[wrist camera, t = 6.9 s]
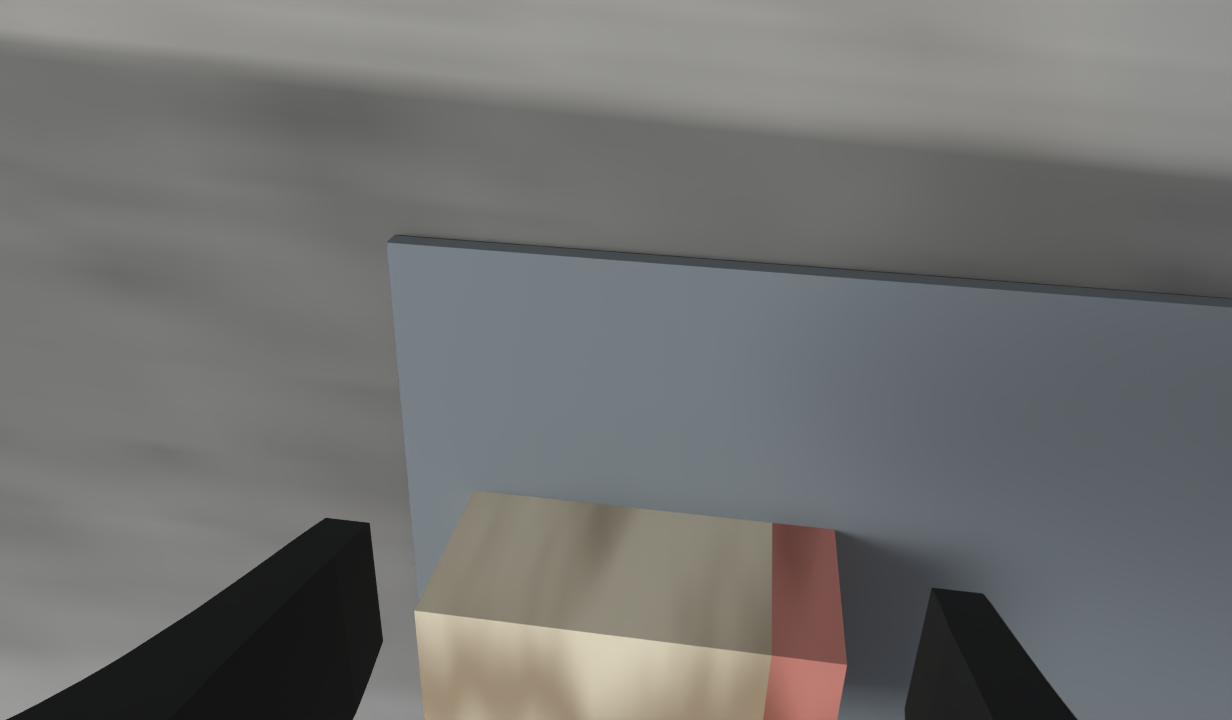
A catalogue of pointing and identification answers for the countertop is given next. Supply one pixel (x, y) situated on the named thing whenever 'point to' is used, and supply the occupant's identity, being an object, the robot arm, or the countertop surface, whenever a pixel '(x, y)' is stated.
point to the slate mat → (858, 442)
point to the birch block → (629, 616)
